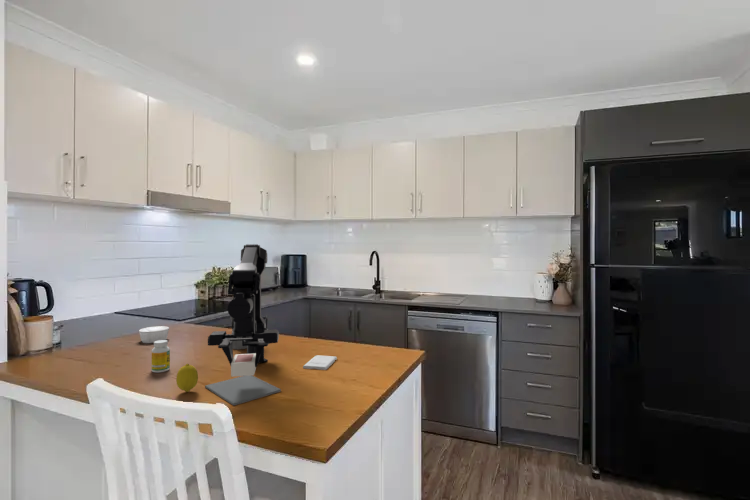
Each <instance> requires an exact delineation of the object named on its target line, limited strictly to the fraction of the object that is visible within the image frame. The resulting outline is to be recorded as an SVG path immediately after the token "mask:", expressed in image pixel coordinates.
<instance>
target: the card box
mask: <svg viewBox="0 0 750 500" xmlns="http://www.w3.org/2000/svg"><path fill="white" fill-rule="evenodd" d="M255 358H256V353H253V354H247V353H240V354H239V353H238V354H237V353H236V354H234V355H233V361H232V363H231V365H230V377H233V378H235V377H241V376H250V375H252V376H255V373H256V369H257V367H255Z"/></svg>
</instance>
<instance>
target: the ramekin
mask: <svg viewBox="0 0 750 500" xmlns="http://www.w3.org/2000/svg"><path fill="white" fill-rule="evenodd" d="M169 331H170V327H169V326H165V325H162V326H161V325H160V326H159V325H158V326H156V325H155V326H149V327H148V326H147V327H143V328H140V329H139V330H138V333H139V337H140V341H141V343H143V344H154V342H155V341H159V340H167V339H168V335H169Z"/></svg>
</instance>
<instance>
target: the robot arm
mask: <svg viewBox="0 0 750 500" xmlns="http://www.w3.org/2000/svg"><path fill="white" fill-rule="evenodd" d="M267 264H268V251H267V249H265V248H264V247H263V248H262V247H261V245H260V244H257V243H256V244H255V243H253V244H249V243H247V244H244V245H243V248H242V249H241V250H240V263H239V264H237V265H235V266H234V267H233V269H232V272H230V273H229V280H228V287H227V295H233V297H232V300H230V301H229V303H228V304H227V313H228V315H229V316H231V317H232V324H231V329H234V334H232V333H229V334H227V331H226V330H219V331H218V330H217V331H216V330H215V331H212V333H210V334H209V336H207V346H213V347H214V346H217V348H218V349H222V351H223V353H224V354H225V357H226V358H227V361H228V363H229V365H230V366H231V363H232V361H233V359H234V349H232V342H233V341H242V346H247V348H246V354H253V353H256V358H255V367H256V368H257V367H258V364H262V363H266V362H268V361H269V359H267V358H265V348H266V347H268V346H269V345H270V344H276V343H278V342H279V337H280V335H279V334H280V332H279V330H278V329H276V328H275V329H268V327H267V325H266V324H267V323H266V321H265V319H264V318H263V316H262V274H263V273H264V270H265V268H266V265H267ZM231 317H230V318H231ZM237 337H239V338H237Z"/></svg>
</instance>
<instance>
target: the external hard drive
mask: <svg viewBox="0 0 750 500" xmlns="http://www.w3.org/2000/svg"><path fill="white" fill-rule="evenodd" d="M337 359H338V358H337V356H335V355H334V356H332V355H318V354H317V355H314V357H312V358H311V359H309V361H307V362H306V363H305V364H304V365H303V366H302V368H303V369H308V370H313V369H314V370H319V371H320V370H322V371H323V370H324V371H327V370H328V369H329V368H330V367H331V366H332V364H334V362H336V361H337ZM335 360H336V361H335Z"/></svg>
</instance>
